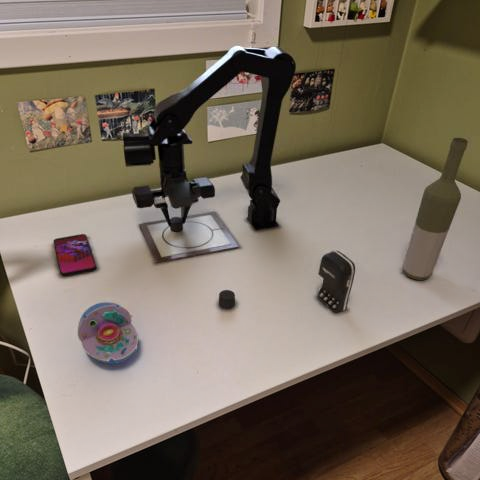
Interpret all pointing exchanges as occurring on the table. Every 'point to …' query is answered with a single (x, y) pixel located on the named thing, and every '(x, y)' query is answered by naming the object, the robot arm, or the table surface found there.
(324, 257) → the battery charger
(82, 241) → the smartphone
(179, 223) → the dot
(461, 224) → the table surface
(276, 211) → the robot arm
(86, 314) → the cell model
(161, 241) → the board
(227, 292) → the dot
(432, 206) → the bottle
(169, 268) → the table surface
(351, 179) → the table surface
